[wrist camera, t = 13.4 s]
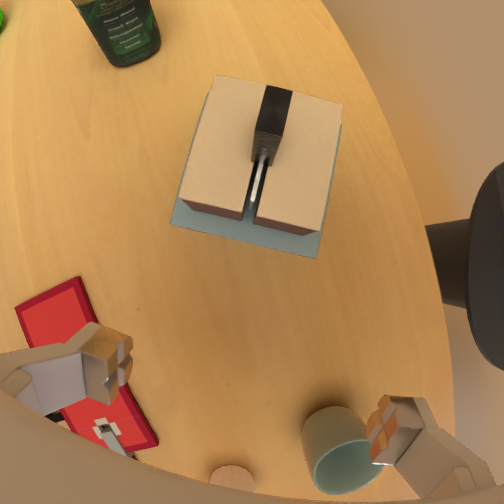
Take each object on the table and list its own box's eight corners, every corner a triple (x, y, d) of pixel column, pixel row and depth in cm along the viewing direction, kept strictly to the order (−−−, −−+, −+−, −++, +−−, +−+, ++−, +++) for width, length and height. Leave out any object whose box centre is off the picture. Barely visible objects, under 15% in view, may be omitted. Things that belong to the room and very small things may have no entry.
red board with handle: (101, 494, 33) (186, 481, 34) (95, 504, 30) (184, 493, 31) (4, 314, 33) (81, 276, 34) (-8, 317, 30) (70, 277, 31)
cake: (208, 95, 34) (201, 55, 26) (340, 126, 35) (365, 94, 26) (171, 224, 34) (149, 215, 26) (314, 258, 35) (337, 259, 26)
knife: (263, 119, 32) (276, 49, 19) (279, 123, 32) (301, 55, 19) (241, 209, 32) (241, 178, 19) (258, 213, 32) (271, 185, 19)
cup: (351, 388, 35) (383, 426, 25) (359, 436, 35) (388, 478, 25) (289, 408, 34) (304, 455, 24) (302, 455, 34) (318, 504, 24)
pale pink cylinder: (203, 461, 34) (198, 494, 27) (257, 460, 34) (260, 494, 27) (208, 495, 34) (204, 529, 27) (258, 495, 34) (261, 528, 27)
